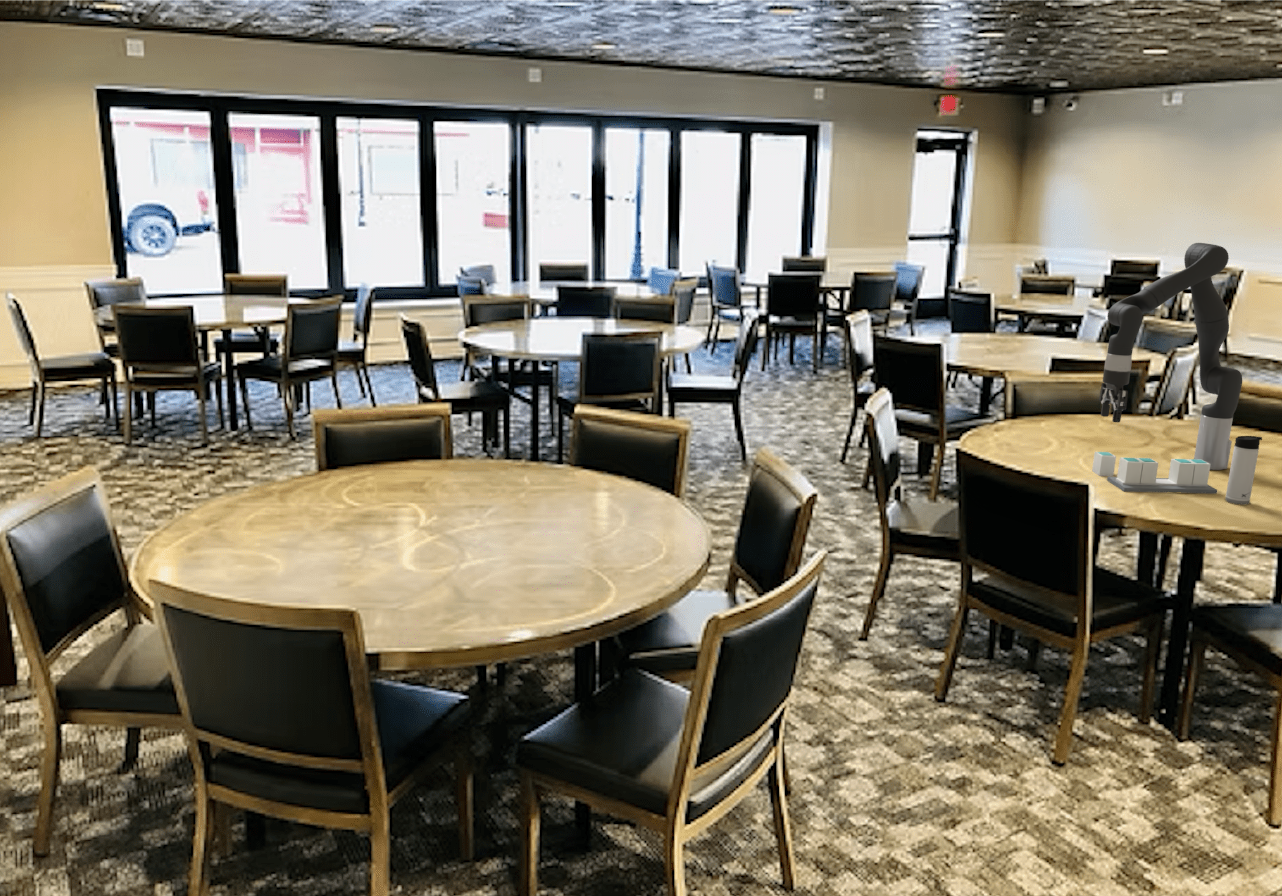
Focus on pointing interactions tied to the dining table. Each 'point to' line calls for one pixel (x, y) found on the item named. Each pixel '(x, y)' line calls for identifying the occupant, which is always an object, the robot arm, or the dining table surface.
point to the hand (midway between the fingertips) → (1110, 419)
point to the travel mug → (1242, 469)
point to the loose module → (1104, 463)
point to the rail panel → (1181, 478)
